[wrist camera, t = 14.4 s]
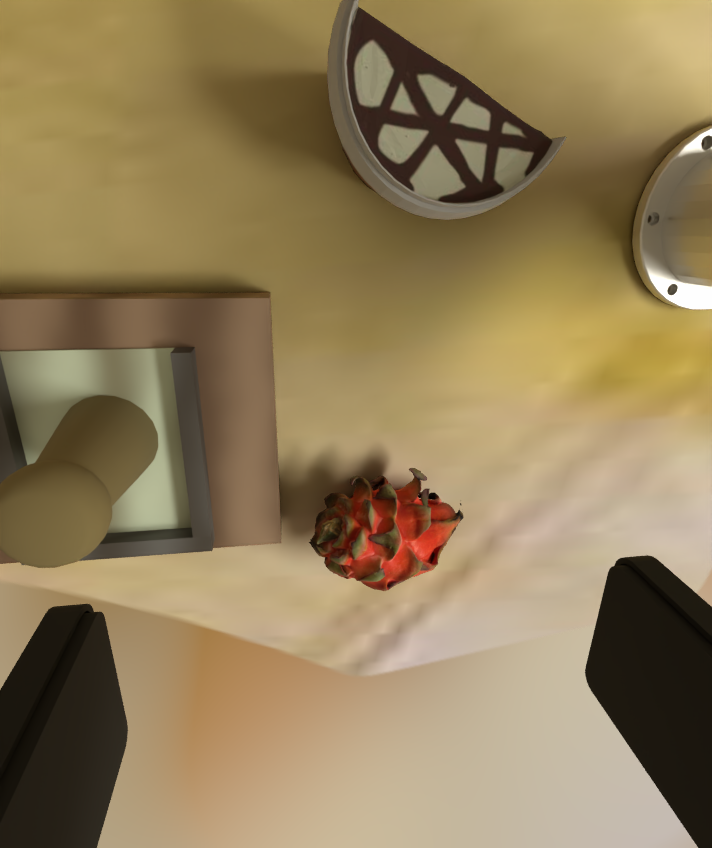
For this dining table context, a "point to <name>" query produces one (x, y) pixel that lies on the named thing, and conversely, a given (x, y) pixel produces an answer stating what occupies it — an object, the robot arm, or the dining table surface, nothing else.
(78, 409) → the brown rounded bulbous piece
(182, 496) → the dock
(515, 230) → the dining table surface
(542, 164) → the food container
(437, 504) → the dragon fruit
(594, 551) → the dining table surface
